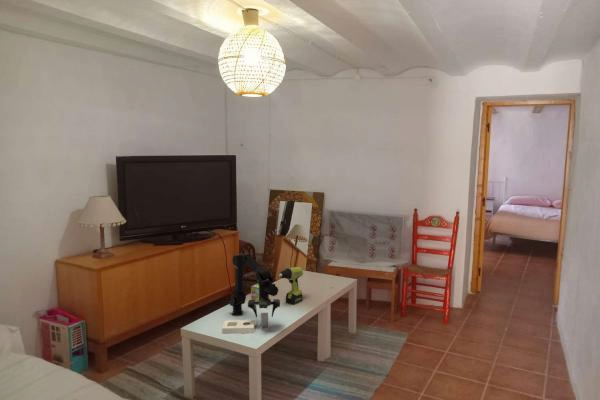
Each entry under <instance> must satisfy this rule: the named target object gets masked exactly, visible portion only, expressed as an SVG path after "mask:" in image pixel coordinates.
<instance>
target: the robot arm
mask: <svg viewBox="0 0 600 400" xmlns="http://www.w3.org/2000/svg"><path fill="white" fill-rule="evenodd" d="M231 261H232V265H233V267H234V268H235V269H234V274H235V275H234V290H233V292H232V294H231V299H230V300H229V301H228V303H229V306H231V307H232V313H231V316H242V315H243V313H244V310H243V306H242V305H243V304H244V305H245V302H246V299H247V293H246V292H245V291H244V268H245V266H246V264H247V266H248V267H250V269H251V270H252V271H253V272H254V276H255V278H256V280H257V281H256V284H257V283H258V284H259V302H255V300H251V299H249V300H248V303H247V308H249V309H251V310H252V311H253V313H254V315H255V317H256V319H257V318H258V310H257V306H258V308H259V309H268V307H270V306H271V305H272V311H271V318H273V316H274V313H275V310H276V309H278V308H280V307H281V306H280V305H281V300H280V299H277V298H275V299H273V300H271V299H270V296H272V297H275V296H277V295H278V294H279V287H278V286H276V283H274V278H273V277H272V275H271V272H270V271H269V270H268V269H267V268H265V267H262V266H261V265H260V264H259V263H258V262H257V260H255V258H254V257H253V256H252V254H251V253H240V254H236V255H233V256H232V260H231Z"/></svg>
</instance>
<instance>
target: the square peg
mask: <svg viewBox="0 0 600 400" xmlns="http://www.w3.org/2000/svg"><path fill="white" fill-rule="evenodd" d="M268 328H269V312H261V314H260V329H268Z"/></svg>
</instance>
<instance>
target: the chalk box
mask: <svg viewBox="0 0 600 400" xmlns="http://www.w3.org/2000/svg"><path fill="white" fill-rule="evenodd" d="M250 300H255V302H259V284H258V283H257V282H256V284H253V285H251V286H250Z"/></svg>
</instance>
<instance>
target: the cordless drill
mask: <svg viewBox="0 0 600 400" xmlns="http://www.w3.org/2000/svg"><path fill="white" fill-rule="evenodd" d="M303 275H304V270H303V268H302V267H301V266H296V267H288V268H285V269H284V270H281V271H280V272H279V274H278V276H279V277H280V278H282V279H287V280H288V283H289V284H291V289H290V290H289V291H288V292H287V293H286V296H285V304H287V303H288V305H291V306H292V305H293V306H295V305H297V304H299V303H301V302H303V290H301V289H300V288H299V280H298V279H299V278H300V277H303Z"/></svg>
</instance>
